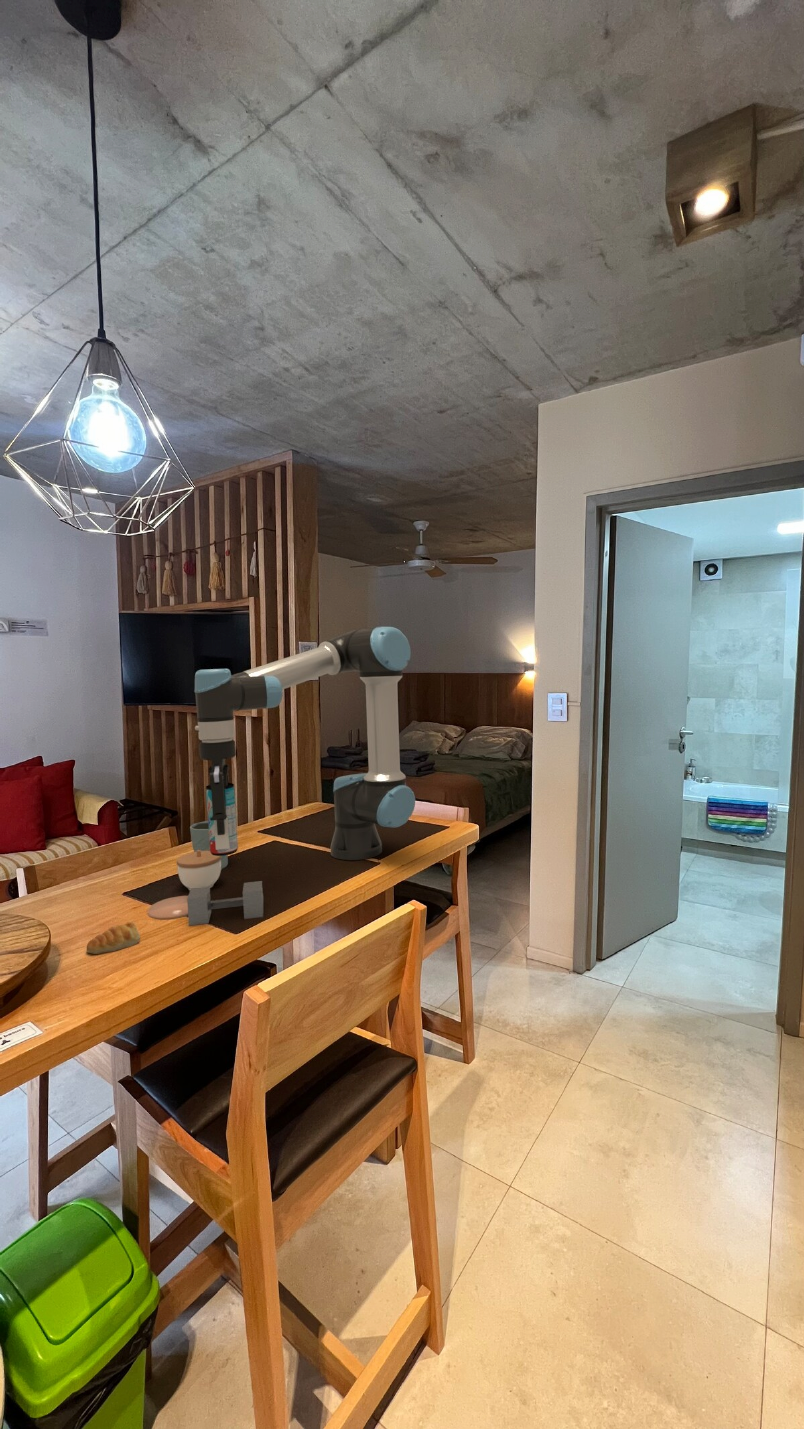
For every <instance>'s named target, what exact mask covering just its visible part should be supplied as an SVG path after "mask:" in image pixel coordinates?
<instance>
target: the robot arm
mask: <svg viewBox="0 0 804 1429" xmlns="http://www.w3.org/2000/svg"><path fill="white" fill-rule="evenodd" d="M411 651H412V650H411V645H410V643H409V639H408V638H407V637H406V635H405V634H403V632H402V631H401V630H400V629H398V628H396V627H393V626H377V627H376V626H375V627H369V628H364V629H355V630H352V631H348V632H346V633H344V634H341V635H339V636H336V637H333V638H331V639H328V640H325V641H322V642H321V643H320V644H319V645H318V647H316V648H313V649H309V650H306V651H303V652H300V653H297V654H294V655H291V656H288V657H284V658H281V659H278V660H275V661H272V662H269V663H266V664H264V665H261V666H256V667H254V668H250V669H247V670H244V671H242V672H238V673H234V674H232V673H231V670H230V669H229V668H213V669H211V668H210V669H199V670H197V671H196V672H195V675H194V693H195V706H196V716H197V717H196V719H197V720H196V721H197V725H195V726H194V730H195V731H198V732H197V733H198V740H200V741H201V742H199V743H198V751H199V752H198V753H199V758H200V760H203V761H211V765H209V768H208V775H209V780H210V782H209V785H210V786H211V793H212V810H213V815H212V817H211V818H210V820H211V821H212V820H214V829H215V844H216V850H219V849H229V836H228V821H227V815H226V800H225V787H227V784H228V783H230V781H229V780H230V779H229V772H230V766H229V764H228V763H227V762H226V760H227V759H232V758H234V757H235V756H236V755H237V753H236V741H235V740H234V738H235V736H236V732H235V719H234V712H239V711H250V710H264V709H265V710H268V709H271V708H276V707H279V705H280V704H281V703H282V700H283V694H284V693H283V691H284V690H285V689H288V688H291V687H294V686H297V685H299V684H301V683H302V684H303V683H305V682H308V681H310V680H314V679H316V678H319V677H322V676H324V675H329V676H335V675H338V674H341V673H346V672H347V673H348V672H349V673H351V672H359V679H360V680H361V681H362V682H363V683H364V684H365V698H366V699H365V701H366V702H365V703H366V706H365V707H366V730H367V731H366V732H367V735H366V736H367V754H368V755H367V758H368V761H367V762H368V771H367V772H364V773H363V772H361V773H356V774H349V775H343V776H339V777H337V778H335V779H334V782H333V790H332V791H333V803H334V822H335V823H334V824H335V825H334V826H335V829H334V831H333V836H332V838H331V839H332V840H331V844H330V850H329V851H330V855H331V857H332V858H335V859H338V860H343V861H345V860H346V861H358V860H366V859H368V860H369V859H371V858H375V857H377V856H379V855H381V854H382V852H383V844H382V840H381V838H380V835H379V832H378V829H377V827H376V825H379V826H381V827H385V828H394V829H395V828H398V827H402V826H403V825H405V824H406V823H407V822H408V821H409V819H410V817H412V816H413V813H414V810H415V807H416V797H415V794H414V791H413V790H412V788H410V787H409V786H408V785H407V779H406V778H407V777H406V774H405V773H403V771H401V765H400V764H401V763H400V762H401V760H400V758H401V757H400V756H401V755H400V732H399V728H400V727H399V702H398V699H399V697H398V696H399V695H398V682H400V680H401V679H402V678H403V670H404V669H405V668H406V667H407V666H408V663H409V662H410V660H411V655H412V654H411Z"/></svg>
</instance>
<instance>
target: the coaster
mask: <svg viewBox="0 0 804 1429" xmlns="http://www.w3.org/2000/svg"><path fill="white" fill-rule="evenodd" d="M187 898H188V895H180V896H174V897H168V898H165V899H161V900H159V901H157V902H155V903H153V904H151V905H150V906H149V907H148V909H147V915H148V917H150V918H152V919H156V920H174V919H179V918H183V917H187V916H188V904H187Z"/></svg>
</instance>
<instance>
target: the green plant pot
mask: <svg viewBox="0 0 804 1429" xmlns="http://www.w3.org/2000/svg"><path fill="white" fill-rule="evenodd" d="M189 830H190V836H191V838H190V839H191V844H192V849H193V852H197V850H201V851H210V842H209V827H208V820H204V821H201V822H196V823H193V824H192V825H190V826H189ZM228 856H229V855H225V856H221V870H222V869H224V868H226V867H227V866H228V864H229V860H228V858H229V857H228Z"/></svg>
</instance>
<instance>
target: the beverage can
mask: <svg viewBox="0 0 804 1429" xmlns="http://www.w3.org/2000/svg"><path fill="white" fill-rule="evenodd" d="M205 789H206V790H205V792H206V793H205V795H206V796H205V797H206V812H207V821H208V827H209V842H210V852H211V854H212V855H215V856H225V855H228V856H229V855H233V854H235V853H237V851H238V848H239V846H238V845H239V844H238V843H239V842H238V829H237V828H238V826H237V812H236V811H237V810H236V809H237V808H236V796H235V795H236V794H235V783H232V782H228V784H227V787H225V800H226V815H227V821H228V836H229V849H219V850H216V844H215V829H214V820H212V821H211V820H210V818H211V817H212V815H213V810H212V793H211V786H210V784H209V785H206V786H205Z"/></svg>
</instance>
